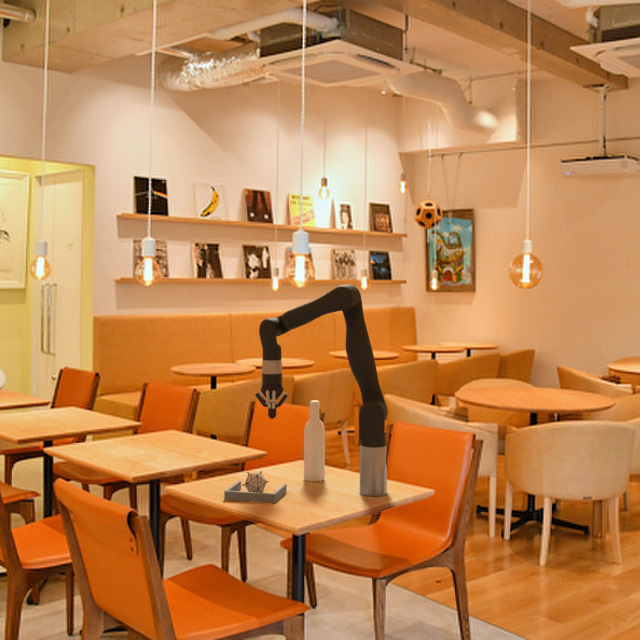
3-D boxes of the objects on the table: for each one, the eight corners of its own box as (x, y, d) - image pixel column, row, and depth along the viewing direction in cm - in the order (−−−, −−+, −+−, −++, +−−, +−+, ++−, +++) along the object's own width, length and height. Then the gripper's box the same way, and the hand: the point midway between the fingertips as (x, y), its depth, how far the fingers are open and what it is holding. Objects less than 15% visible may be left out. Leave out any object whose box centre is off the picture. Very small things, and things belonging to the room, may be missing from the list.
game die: (258, 506, 294) (263, 487, 288) (237, 496, 296) (241, 477, 290) (269, 488, 301) (273, 470, 295) (248, 479, 303) (252, 460, 297)
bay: (286, 492, 299) (286, 484, 299) (274, 503, 284) (274, 494, 284) (238, 489, 303) (238, 480, 303) (224, 499, 289) (224, 491, 288)
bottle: (319, 483, 313) (319, 403, 312) (300, 480, 316) (300, 401, 315) (328, 478, 320) (328, 400, 319) (309, 476, 324) (310, 398, 322)
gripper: (291, 371, 313) (292, 417, 314) (258, 370, 316) (258, 416, 317) (286, 373, 306) (286, 420, 307) (251, 372, 309) (252, 419, 310)
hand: (272, 418), depth 312 cm, fingers closed
